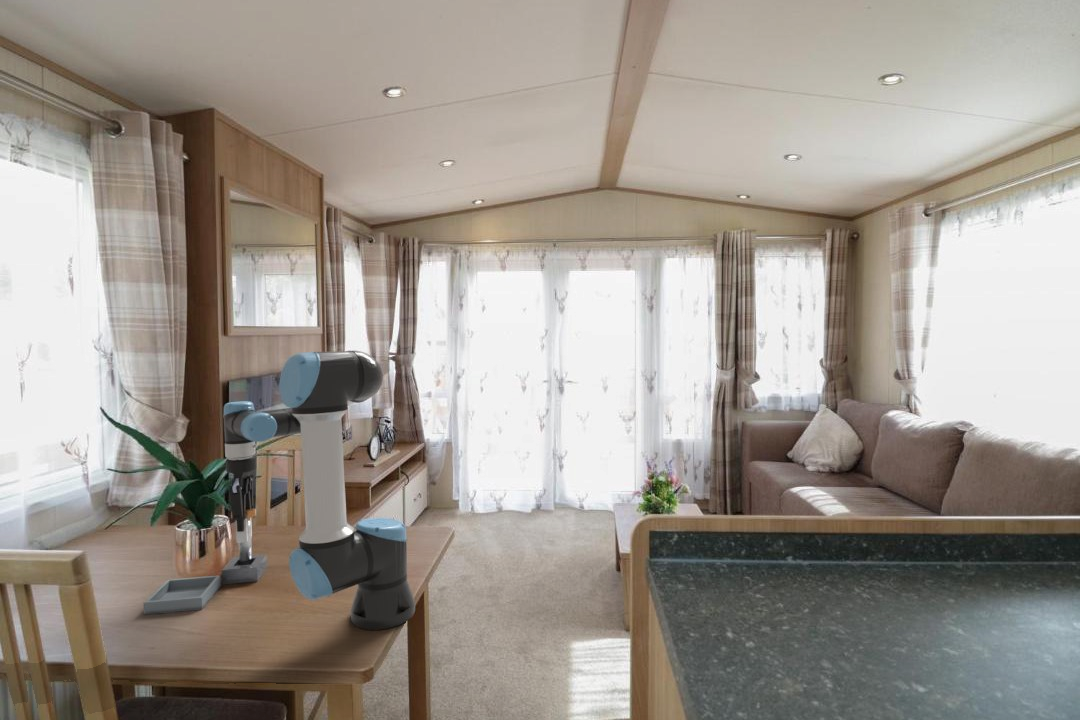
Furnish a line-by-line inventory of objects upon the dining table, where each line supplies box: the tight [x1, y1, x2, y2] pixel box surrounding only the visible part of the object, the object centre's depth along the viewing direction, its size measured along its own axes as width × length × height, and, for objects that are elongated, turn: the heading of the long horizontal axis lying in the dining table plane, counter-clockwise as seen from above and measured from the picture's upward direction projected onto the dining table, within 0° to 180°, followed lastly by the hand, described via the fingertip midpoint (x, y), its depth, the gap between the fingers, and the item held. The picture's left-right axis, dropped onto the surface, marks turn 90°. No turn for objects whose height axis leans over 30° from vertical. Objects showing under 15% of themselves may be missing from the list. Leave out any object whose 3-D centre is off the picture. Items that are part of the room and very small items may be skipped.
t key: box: [230, 508, 257, 561], centre depth 159 cm, size 6×3×14 cm, turn 109°
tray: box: [143, 574, 222, 615], centre depth 146 cm, size 13×13×3 cm
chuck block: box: [221, 554, 268, 585], centre depth 160 cm, size 9×9×4 cm
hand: (244, 539), depth 159 cm, fingers closed on t key, 3 cm apart
